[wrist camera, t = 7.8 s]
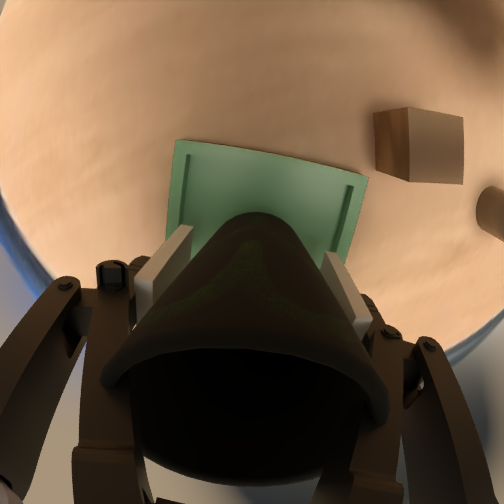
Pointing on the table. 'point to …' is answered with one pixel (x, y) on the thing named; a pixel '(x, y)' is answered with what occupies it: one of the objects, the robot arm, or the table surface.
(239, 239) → the cup
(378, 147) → the walnut block
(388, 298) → the table surface
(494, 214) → the pepper shaker
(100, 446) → the robot arm
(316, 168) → the tray
